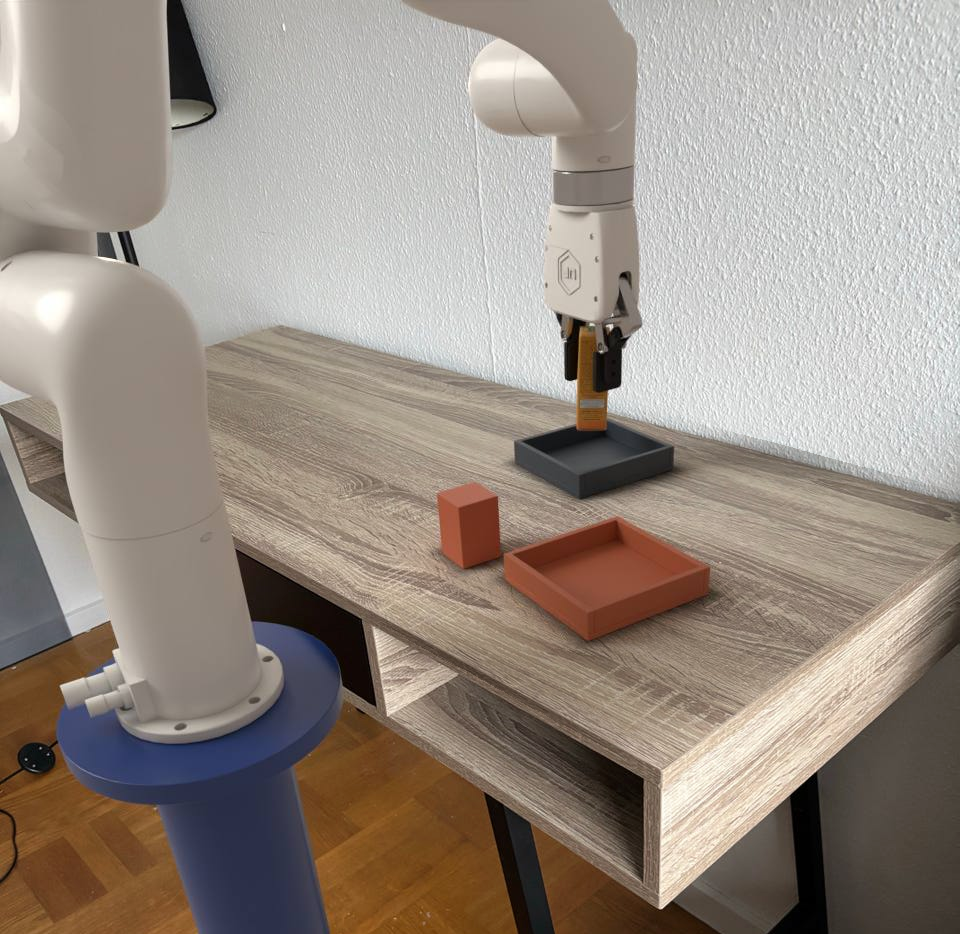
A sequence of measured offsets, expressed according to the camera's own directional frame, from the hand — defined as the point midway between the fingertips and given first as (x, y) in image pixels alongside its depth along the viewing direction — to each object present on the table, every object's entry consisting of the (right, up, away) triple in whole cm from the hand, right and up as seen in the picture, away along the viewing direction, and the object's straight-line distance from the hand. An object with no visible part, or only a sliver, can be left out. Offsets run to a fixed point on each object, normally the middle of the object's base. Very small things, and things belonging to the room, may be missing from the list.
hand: (592, 381), depth 97 cm
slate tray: (+1, -8, +5) cm, 9 cm away
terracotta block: (-12, -19, -11) cm, 25 cm away
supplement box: (0, -4, +3) cm, 5 cm away
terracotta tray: (-1, -22, -17) cm, 28 cm away
